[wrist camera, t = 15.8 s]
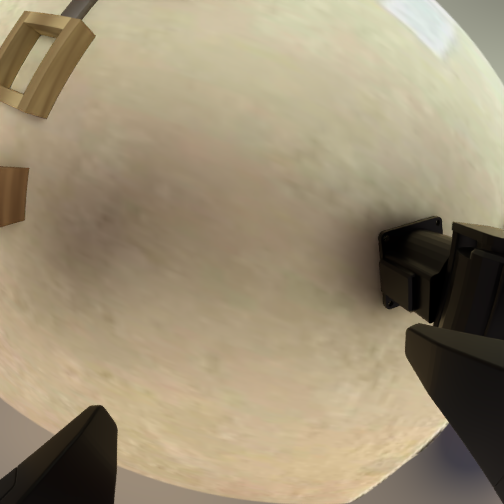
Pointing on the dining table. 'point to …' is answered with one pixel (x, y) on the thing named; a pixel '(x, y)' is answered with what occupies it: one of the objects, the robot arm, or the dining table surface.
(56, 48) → the wooden box with frame
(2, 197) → the brown wooden block
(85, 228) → the dining table surface
